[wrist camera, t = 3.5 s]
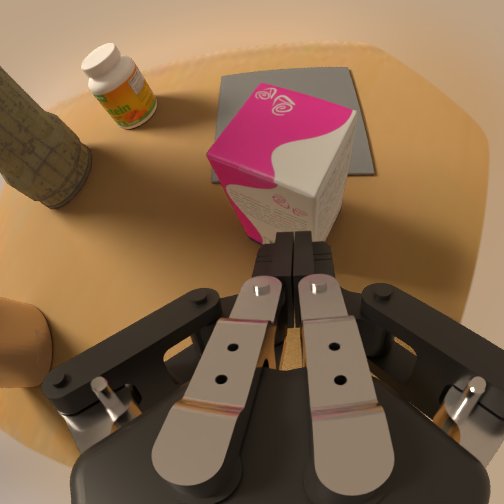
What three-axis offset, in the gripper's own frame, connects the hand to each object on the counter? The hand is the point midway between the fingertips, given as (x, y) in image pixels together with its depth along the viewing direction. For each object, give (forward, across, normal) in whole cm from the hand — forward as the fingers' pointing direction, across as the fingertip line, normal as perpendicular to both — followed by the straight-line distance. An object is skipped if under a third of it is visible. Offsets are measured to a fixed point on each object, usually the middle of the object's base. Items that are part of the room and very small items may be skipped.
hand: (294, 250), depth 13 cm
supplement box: (+11, 0, +3) cm, 11 cm away
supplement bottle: (+21, +17, -7) cm, 28 cm away
